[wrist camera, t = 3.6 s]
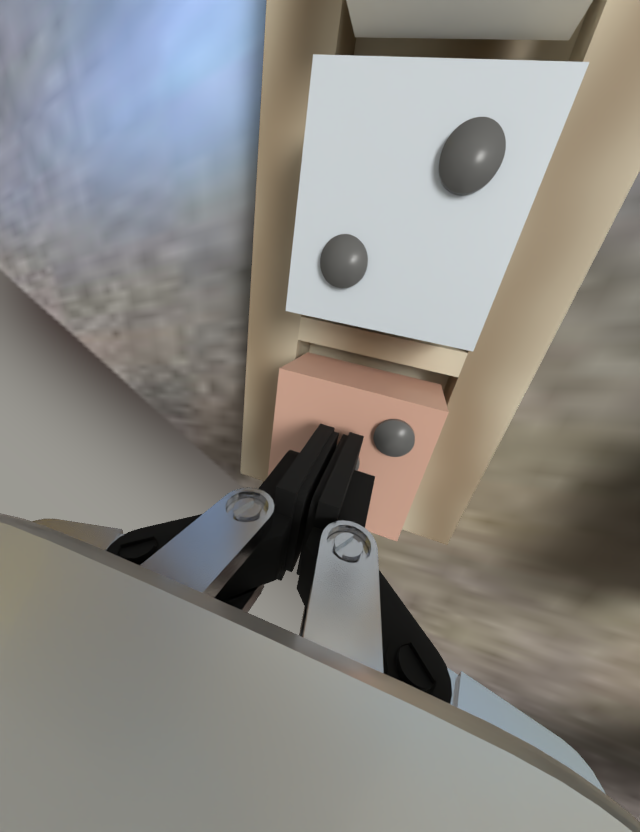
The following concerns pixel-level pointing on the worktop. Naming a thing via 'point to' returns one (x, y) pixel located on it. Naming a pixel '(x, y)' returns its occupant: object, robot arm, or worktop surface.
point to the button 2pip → (420, 187)
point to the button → (467, 18)
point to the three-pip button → (363, 426)
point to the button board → (526, 272)
